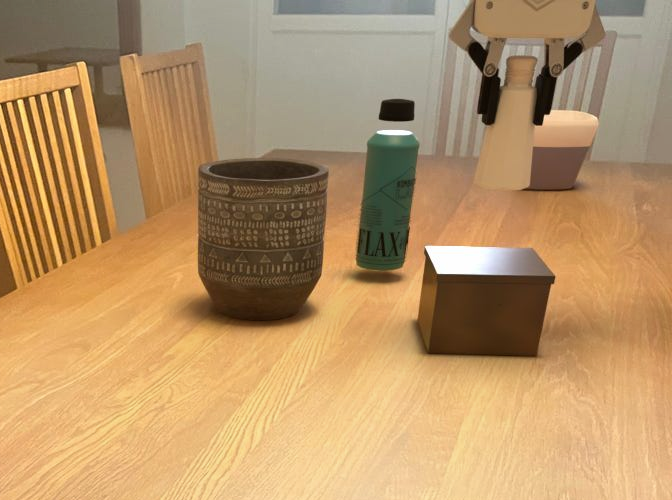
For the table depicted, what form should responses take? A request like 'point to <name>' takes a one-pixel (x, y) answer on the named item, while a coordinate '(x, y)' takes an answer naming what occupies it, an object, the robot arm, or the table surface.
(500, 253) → the walnut box
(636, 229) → the table surface
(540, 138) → the bowl
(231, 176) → the planter
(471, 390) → the table surface
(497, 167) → the cream bottle
